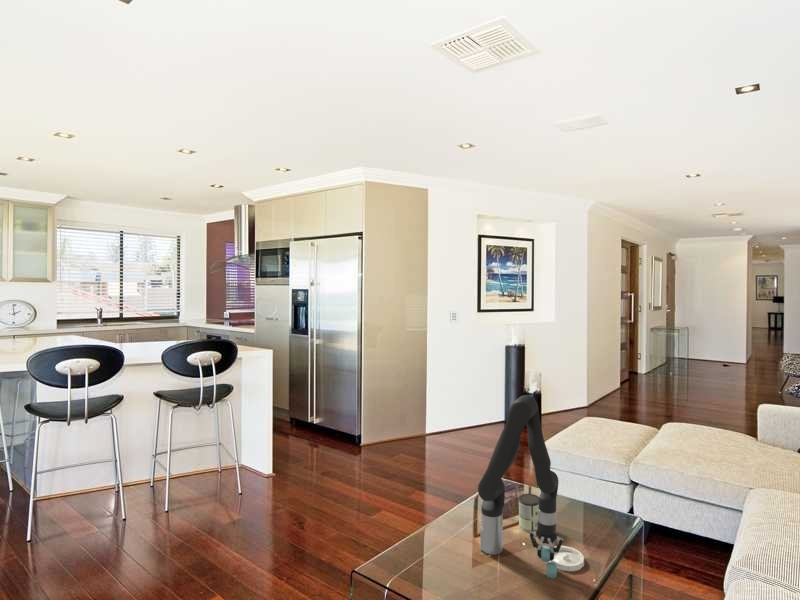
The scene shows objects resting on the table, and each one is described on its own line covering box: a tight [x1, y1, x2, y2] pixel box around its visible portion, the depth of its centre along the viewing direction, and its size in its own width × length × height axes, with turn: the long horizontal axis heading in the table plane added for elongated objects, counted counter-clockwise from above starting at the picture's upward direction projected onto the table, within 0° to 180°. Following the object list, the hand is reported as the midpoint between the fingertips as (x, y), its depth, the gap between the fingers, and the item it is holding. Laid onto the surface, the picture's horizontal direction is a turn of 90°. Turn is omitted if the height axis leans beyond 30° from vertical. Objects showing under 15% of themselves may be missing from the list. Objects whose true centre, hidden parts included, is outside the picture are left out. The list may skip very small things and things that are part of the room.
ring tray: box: [548, 545, 585, 572], centre depth 222 cm, size 15×15×2 cm
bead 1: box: [540, 545, 551, 563], centre depth 217 cm, size 4×4×4 cm
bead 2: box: [546, 562, 558, 580], centre depth 212 cm, size 4×4×4 cm
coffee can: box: [518, 493, 540, 533], centre depth 249 cm, size 10×10×14 cm
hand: (545, 558), depth 217 cm, fingers closed on bead 1, 4 cm apart
